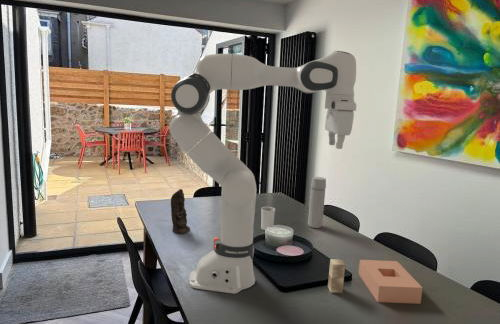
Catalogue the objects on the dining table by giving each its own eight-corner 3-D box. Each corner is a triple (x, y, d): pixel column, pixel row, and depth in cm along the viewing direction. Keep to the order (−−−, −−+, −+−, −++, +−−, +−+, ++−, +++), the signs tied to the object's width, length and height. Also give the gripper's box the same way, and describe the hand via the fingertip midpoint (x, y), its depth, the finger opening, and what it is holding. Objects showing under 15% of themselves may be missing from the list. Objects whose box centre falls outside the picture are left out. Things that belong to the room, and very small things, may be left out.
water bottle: (322, 229, 188) (327, 180, 184) (306, 227, 189) (310, 178, 185) (322, 223, 197) (327, 176, 192) (307, 222, 198) (311, 175, 194)
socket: (377, 302, 121) (379, 286, 120) (358, 273, 141) (359, 259, 140) (420, 303, 121) (422, 287, 121) (395, 275, 141) (397, 261, 140)
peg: (330, 292, 126) (333, 264, 124) (327, 286, 129) (330, 259, 128) (342, 293, 126) (345, 264, 124) (339, 287, 130) (342, 259, 128)
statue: (183, 234, 171) (184, 191, 167) (169, 232, 173) (170, 189, 170) (190, 230, 177) (191, 188, 174) (177, 227, 179) (177, 186, 176)
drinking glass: (276, 228, 185) (277, 208, 184) (268, 231, 180) (269, 211, 179) (266, 225, 190) (267, 205, 188) (257, 228, 185) (258, 208, 183)
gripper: (322, 103, 131) (319, 142, 134) (337, 103, 111) (333, 150, 114) (340, 104, 132) (336, 143, 134) (358, 105, 112) (353, 151, 114)
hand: (335, 146), depth 124 cm, fingers open, 8 cm apart
